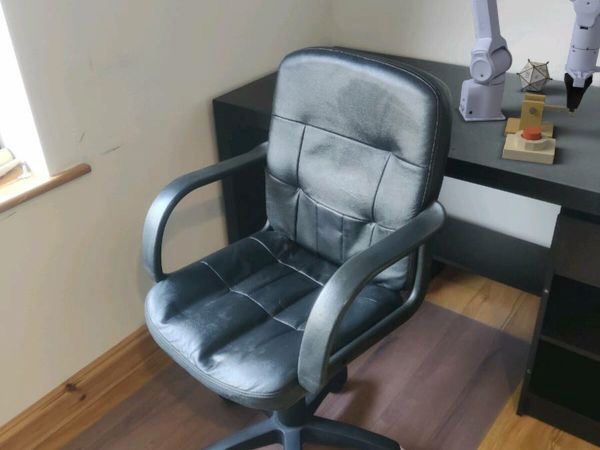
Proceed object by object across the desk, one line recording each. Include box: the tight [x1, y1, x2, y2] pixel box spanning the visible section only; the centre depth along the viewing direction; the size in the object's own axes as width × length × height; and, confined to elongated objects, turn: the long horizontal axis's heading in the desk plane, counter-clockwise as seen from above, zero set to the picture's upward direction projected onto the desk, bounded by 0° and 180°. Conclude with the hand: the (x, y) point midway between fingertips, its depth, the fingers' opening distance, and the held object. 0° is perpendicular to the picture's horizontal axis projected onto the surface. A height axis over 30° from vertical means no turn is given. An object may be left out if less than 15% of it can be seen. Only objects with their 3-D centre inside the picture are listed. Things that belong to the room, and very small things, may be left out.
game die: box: [515, 58, 554, 95], centre depth 160 cm, size 9×8×10 cm
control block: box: [501, 130, 557, 165], centre depth 131 cm, size 10×8×4 cm
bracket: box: [503, 93, 555, 139], centre depth 139 cm, size 10×8×8 cm
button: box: [522, 127, 542, 141], centre depth 130 cm, size 4×4×2 cm
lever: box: [528, 99, 576, 118], centre depth 137 cm, size 10×6×2 cm, turn 68°
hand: (572, 107), depth 135 cm, fingers closed, pressing on lever
